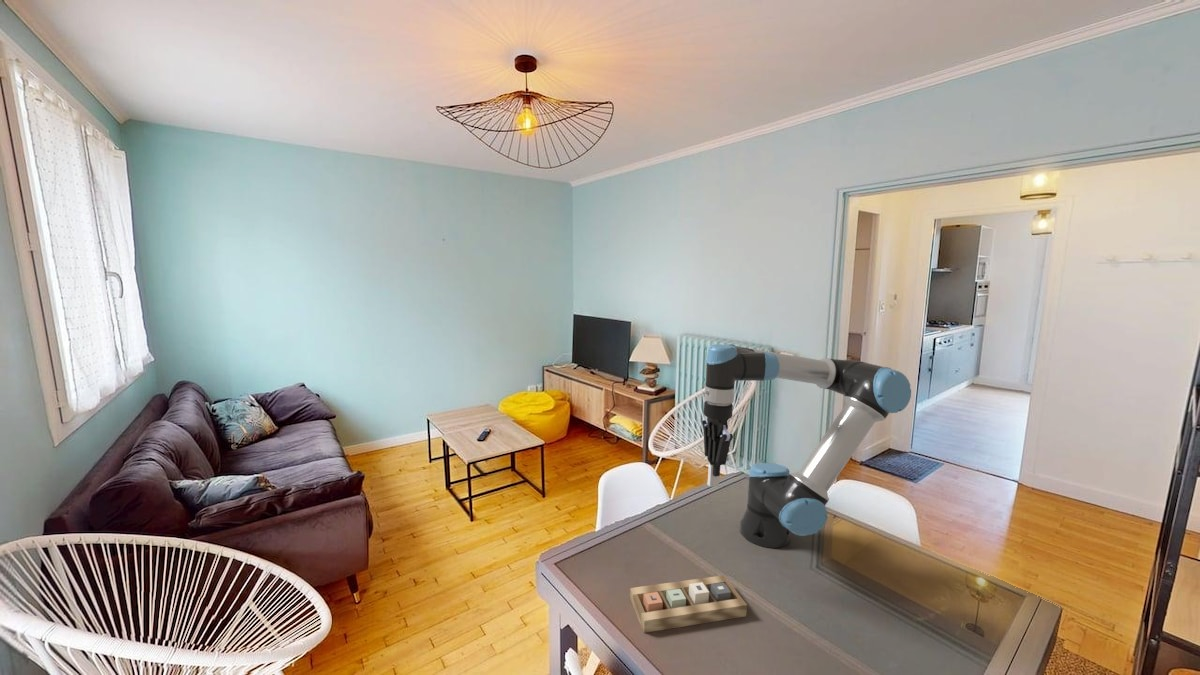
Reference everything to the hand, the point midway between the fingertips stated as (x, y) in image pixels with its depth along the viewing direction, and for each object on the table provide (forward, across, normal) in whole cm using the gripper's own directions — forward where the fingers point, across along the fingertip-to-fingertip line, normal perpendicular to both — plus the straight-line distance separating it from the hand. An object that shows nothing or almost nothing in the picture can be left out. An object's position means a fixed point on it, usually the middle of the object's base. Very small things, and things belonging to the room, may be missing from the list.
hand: (713, 485), depth 122 cm
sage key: (+24, +13, -15) cm, 31 cm away
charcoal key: (+24, +14, -4) cm, 28 cm away
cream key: (+23, +14, -10) cm, 28 cm away
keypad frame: (+24, +14, -12) cm, 31 cm away
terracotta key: (+24, +13, -22) cm, 35 cm away
